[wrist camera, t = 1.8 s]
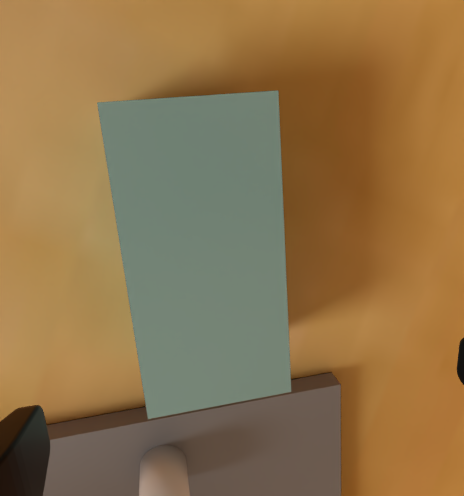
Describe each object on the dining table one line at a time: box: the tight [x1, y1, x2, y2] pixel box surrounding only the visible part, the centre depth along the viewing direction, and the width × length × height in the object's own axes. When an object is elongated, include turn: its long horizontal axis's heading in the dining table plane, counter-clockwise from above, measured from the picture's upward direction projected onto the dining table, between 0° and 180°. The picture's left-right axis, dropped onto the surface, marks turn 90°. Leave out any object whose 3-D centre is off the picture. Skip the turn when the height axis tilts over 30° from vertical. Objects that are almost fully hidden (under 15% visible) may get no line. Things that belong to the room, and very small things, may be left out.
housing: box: [97, 91, 291, 419], centre depth 18 cm, size 6×12×5 cm, turn 4°
